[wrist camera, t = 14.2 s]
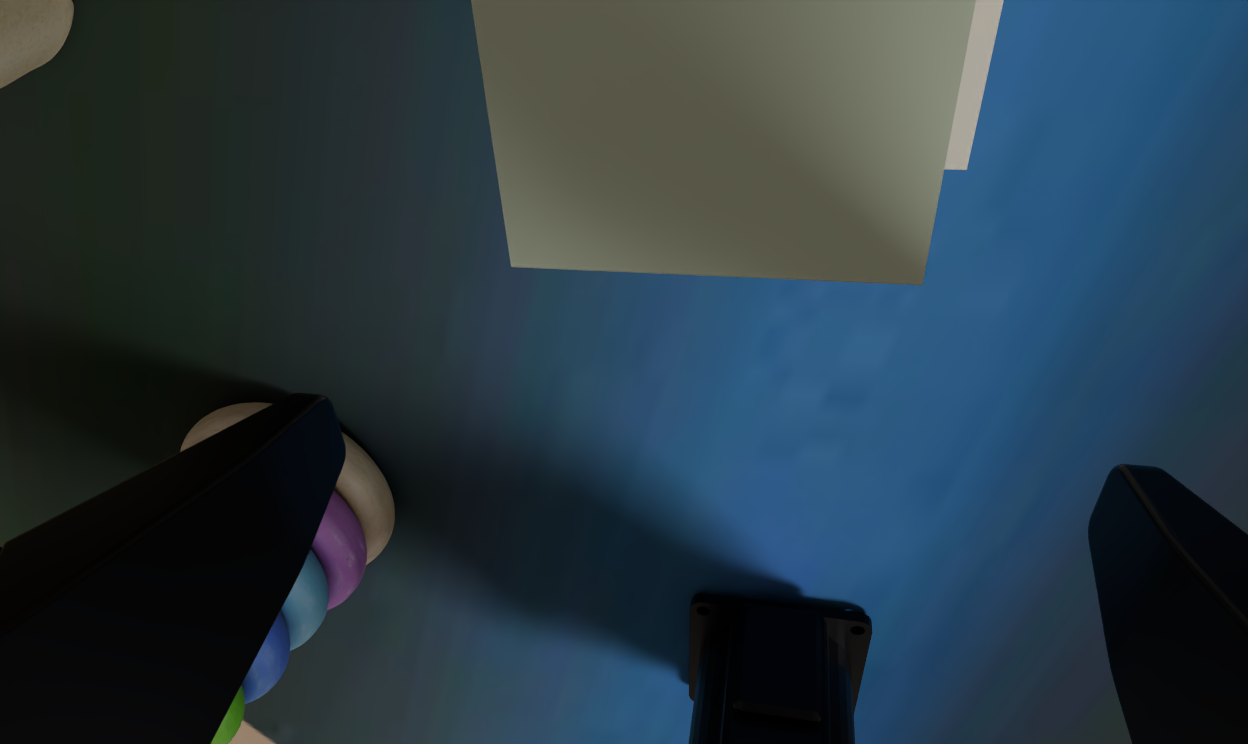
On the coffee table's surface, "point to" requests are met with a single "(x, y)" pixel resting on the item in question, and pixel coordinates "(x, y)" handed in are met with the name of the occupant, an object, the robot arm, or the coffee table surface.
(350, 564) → the stacking toy
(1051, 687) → the coffee table surface
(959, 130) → the plate
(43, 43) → the flower pot
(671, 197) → the block sage
